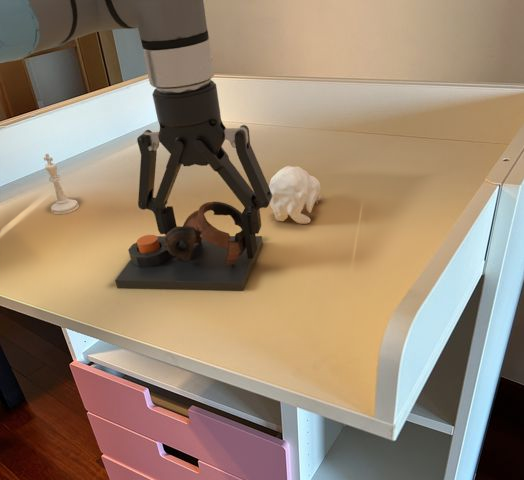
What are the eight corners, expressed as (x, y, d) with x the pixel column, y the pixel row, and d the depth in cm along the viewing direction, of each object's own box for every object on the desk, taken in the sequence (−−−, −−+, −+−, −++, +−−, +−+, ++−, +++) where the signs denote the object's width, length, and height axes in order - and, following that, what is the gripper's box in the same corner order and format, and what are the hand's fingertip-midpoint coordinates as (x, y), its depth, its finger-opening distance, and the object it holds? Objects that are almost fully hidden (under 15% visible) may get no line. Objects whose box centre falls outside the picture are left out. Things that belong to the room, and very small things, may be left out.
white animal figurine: (261, 171, 83) (294, 151, 91) (265, 227, 87) (296, 202, 96) (301, 174, 80) (331, 153, 89) (302, 231, 85) (331, 205, 94)
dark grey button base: (117, 288, 78) (111, 270, 76) (150, 244, 88) (146, 226, 86) (242, 291, 74) (239, 271, 72) (263, 244, 84) (260, 225, 82)
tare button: (136, 254, 80) (133, 244, 79) (143, 244, 82) (141, 234, 81) (155, 254, 79) (153, 244, 78) (163, 244, 81) (160, 234, 80)
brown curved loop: (211, 235, 86) (230, 192, 80) (246, 279, 82) (268, 237, 77) (143, 247, 78) (159, 200, 72) (179, 296, 75) (198, 250, 69)
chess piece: (65, 216, 100) (46, 160, 94) (45, 212, 102) (25, 158, 96) (84, 204, 103) (67, 150, 97) (65, 201, 106) (47, 148, 99)
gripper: (286, 69, 65) (299, 240, 79) (106, 82, 71) (147, 240, 84) (274, 86, 60) (290, 268, 73) (79, 98, 65) (127, 266, 78)
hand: (213, 253), depth 79 cm, fingers open, 10 cm apart
